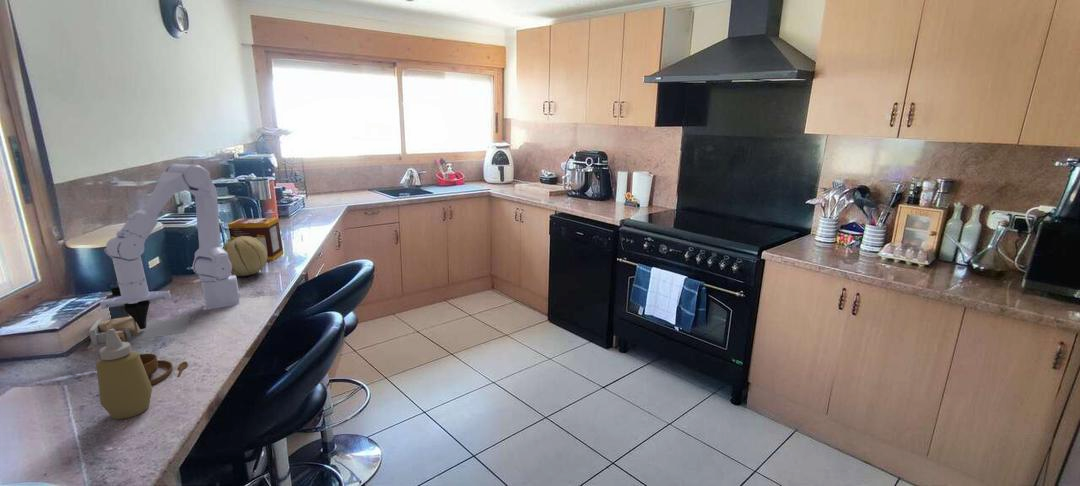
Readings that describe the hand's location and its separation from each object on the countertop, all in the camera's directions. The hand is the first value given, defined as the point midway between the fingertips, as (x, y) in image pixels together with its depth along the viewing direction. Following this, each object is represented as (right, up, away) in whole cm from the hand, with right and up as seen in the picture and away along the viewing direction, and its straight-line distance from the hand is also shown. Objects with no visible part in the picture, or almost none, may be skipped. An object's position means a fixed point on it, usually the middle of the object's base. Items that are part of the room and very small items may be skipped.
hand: (143, 327), depth 133 cm
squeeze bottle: (+25, -11, -34) cm, 44 cm away
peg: (-4, -1, -1) cm, 4 cm away
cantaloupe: (0, +11, +47) cm, 49 cm away
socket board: (0, -2, 0) cm, 2 cm away
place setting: (+15, -7, -18) cm, 25 cm away
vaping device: (-13, 0, +8) cm, 16 cm away
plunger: (-2, -2, -5) cm, 6 cm away
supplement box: (-8, +17, +69) cm, 71 cm away
